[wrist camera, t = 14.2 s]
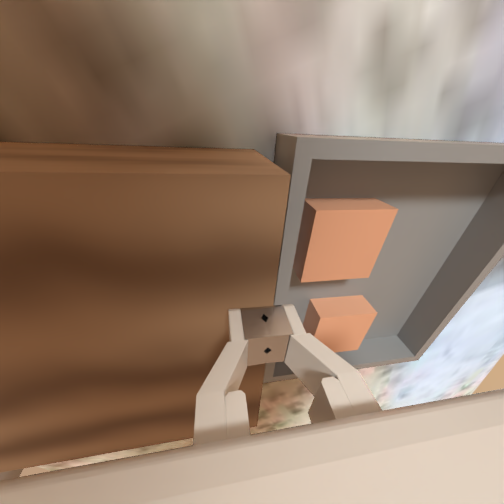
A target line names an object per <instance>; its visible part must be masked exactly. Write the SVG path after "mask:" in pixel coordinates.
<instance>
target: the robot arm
mask: <svg viewBox="0 0 504 504" xmlns="http://www.w3.org/2000/svg"><path fill="white" fill-rule="evenodd" d="M228 322H229V342H227V344H226V345H225V347H224V349H223V350H222V352H221V354H220V356H219V357H218V359H217V361H216V362H215V364H214V366H213V368H212V369H211V371H210V373H209V374H208V376H207V378H206V380H205V381H204V383H203V385H202V386H201V388H200V390H199V392H198V393H197V395H196V409H195V423H194V438H193V445H192V446H187V447H181V448H176V449H170V450H165V451H159V452H154V453H149V454H143V455H138V456H132V457H127V458H121V459H116V460H110V461H105V462H99V463H94V464H88V465H83V466H78V467H72V468H67V469H61V470H56V471H50V472H45V473H39V474H34V475H29V476H23V477H17V478H12V479H6V480H1V481H0V504H504V389H499V390H493V391H488V392H482V393H477V394H471V395H466V396H460V397H455V398H449V399H444V400H439V401H433V402H428V403H422V404H417V405H411V406H406V407H400V408H395V409H389V410H384V411H382V409H381V408H380V406H379V404H378V403H377V401H376V399H375V397H374V396H373V394H372V392H371V391H370V389H369V387H368V385H367V384H366V382H365V380H364V379H363V377H362V375H361V373H360V372H359V371H358V370H357V369H355V368H354V367H353V366H351V365H350V364H349V363H348V362H346V361H345V360H344V359H342V358H341V357H340V356H339V355H337V354H336V353H335V352H333V351H332V350H331V349H330V348H328V347H327V346H326V345H324V344H323V343H322V342H321V341H319V340H318V339H317V338H315V337H314V336H313V335H312V334H310V333H306V331H305V329H304V327H303V325H302V322H301V320H300V318H299V316H298V313H297V311H296V309H295V307H294V305H293V304H285V305H273V306H263V307H252V308H238V309H229V310H228ZM283 361H285V363H286V365H287V366H288V367H289V368H290V369H291V370H292V371H293V373H294V374H295V375H296V376H297V377H298V378H299V379H300V381H301V382H302V383H303V384H304V385H305V386H306V387H307V389H308V390H309V391H310V392H311V393H312V394H313V396H314V397H315V398H314V400H313V402H312V405H311V407H310V409H309V411H308V414H309V417H310V420H311V423H312V424H307V425H302V426H296V427H291V428H285V429H280V430H274V431H269V432H263V433H258V434H252V435H250V427H249V419H248V411H247V403H246V395H245V393H244V392H243V391H241V390H238V389H239V386H240V384H241V381H242V379H243V376H244V374H245V371H246V369H247V366H251V365H258V364H264V363H273V362H283Z"/></svg>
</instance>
